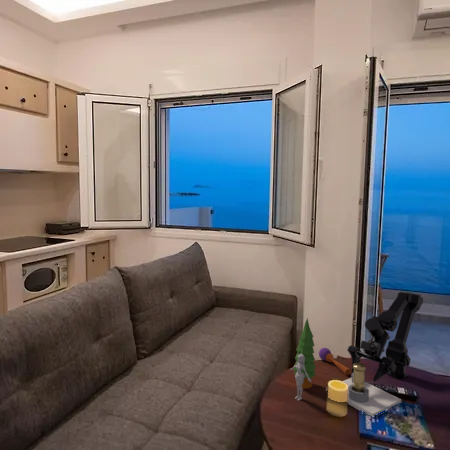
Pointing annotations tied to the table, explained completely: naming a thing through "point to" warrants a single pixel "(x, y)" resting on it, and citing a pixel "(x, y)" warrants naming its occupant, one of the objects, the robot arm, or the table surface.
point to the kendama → (327, 356)
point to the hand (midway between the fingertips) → (362, 376)
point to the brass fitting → (359, 377)
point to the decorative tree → (306, 354)
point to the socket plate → (370, 398)
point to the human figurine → (300, 375)
